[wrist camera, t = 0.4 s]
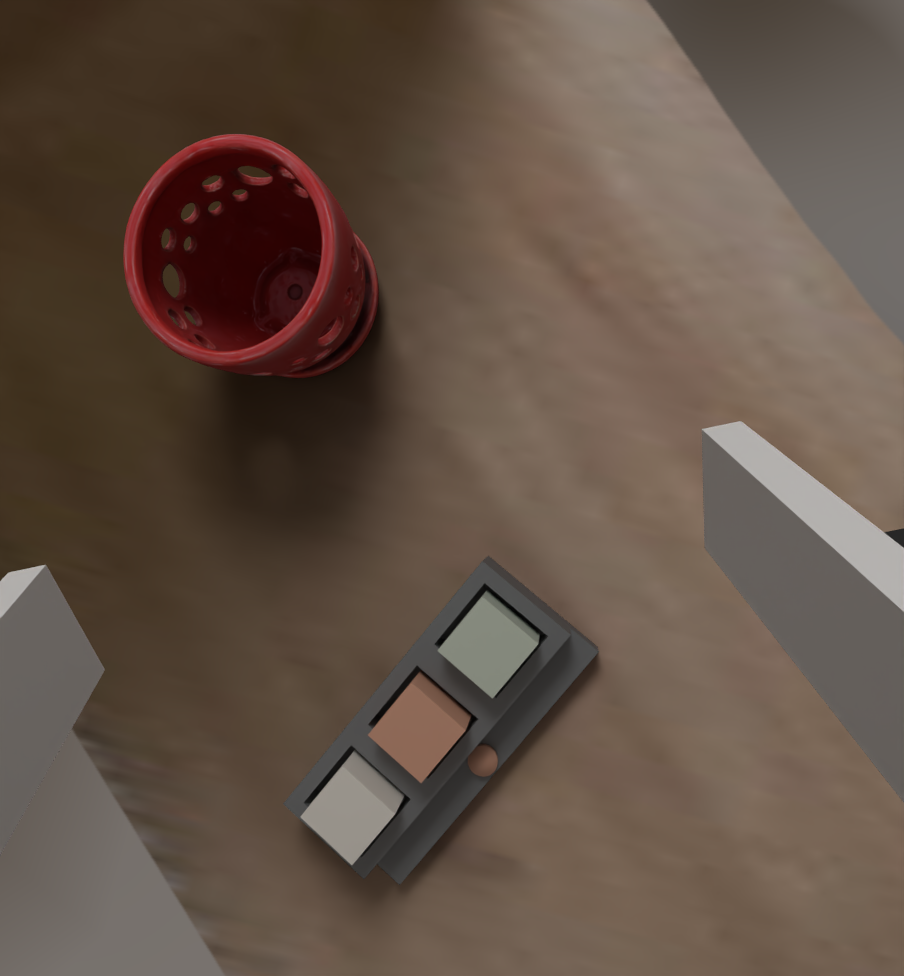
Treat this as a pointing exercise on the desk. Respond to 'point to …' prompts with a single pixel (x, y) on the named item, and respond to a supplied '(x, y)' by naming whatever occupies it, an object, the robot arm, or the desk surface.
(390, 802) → the ivory key
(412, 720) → the terracotta key
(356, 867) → the key console
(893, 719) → the robot arm
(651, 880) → the desk surface
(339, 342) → the plant pot
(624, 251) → the desk surface
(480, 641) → the sage key
